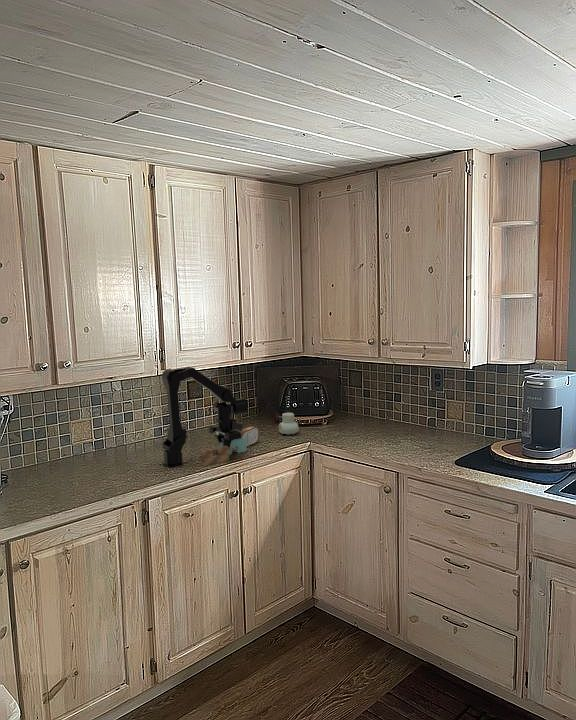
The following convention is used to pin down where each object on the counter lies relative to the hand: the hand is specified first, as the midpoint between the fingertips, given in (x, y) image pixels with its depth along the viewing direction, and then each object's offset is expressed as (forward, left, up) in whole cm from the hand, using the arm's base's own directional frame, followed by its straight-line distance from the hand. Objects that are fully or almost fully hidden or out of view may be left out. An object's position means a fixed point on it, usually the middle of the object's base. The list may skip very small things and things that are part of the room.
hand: (225, 451), depth 262 cm
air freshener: (+43, +13, -2) cm, 45 cm away
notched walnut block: (-9, -7, -2) cm, 12 cm away
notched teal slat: (+4, 0, -2) cm, 4 cm away
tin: (+16, +7, -2) cm, 18 cm away
